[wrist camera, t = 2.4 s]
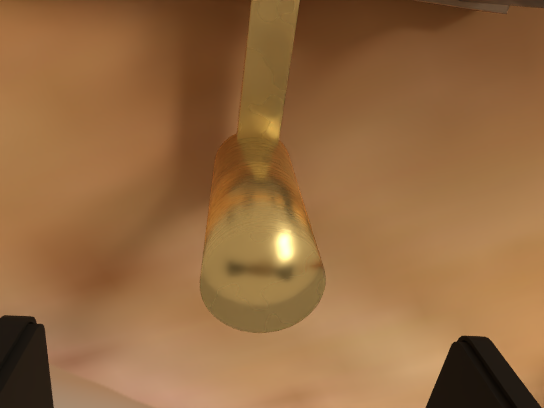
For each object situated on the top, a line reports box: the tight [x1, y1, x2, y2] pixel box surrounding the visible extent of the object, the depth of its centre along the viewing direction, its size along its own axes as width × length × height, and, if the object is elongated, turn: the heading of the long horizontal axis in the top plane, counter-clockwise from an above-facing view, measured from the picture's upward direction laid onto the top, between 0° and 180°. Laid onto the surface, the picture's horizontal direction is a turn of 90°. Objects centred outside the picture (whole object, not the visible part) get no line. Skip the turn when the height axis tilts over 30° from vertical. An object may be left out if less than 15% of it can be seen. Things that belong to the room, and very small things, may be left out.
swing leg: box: [200, 0, 325, 333], centre depth 14 cm, size 13×4×9 cm, turn 172°
